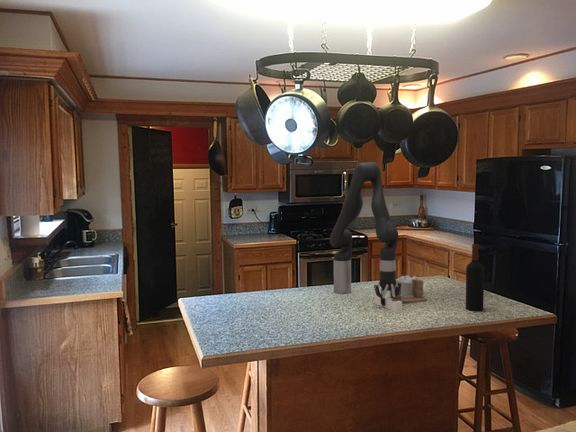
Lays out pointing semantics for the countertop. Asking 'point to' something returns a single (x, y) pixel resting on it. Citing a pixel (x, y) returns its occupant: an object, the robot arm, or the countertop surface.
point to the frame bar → (389, 303)
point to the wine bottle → (474, 282)
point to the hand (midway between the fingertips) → (387, 304)
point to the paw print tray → (406, 284)
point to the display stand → (416, 293)
